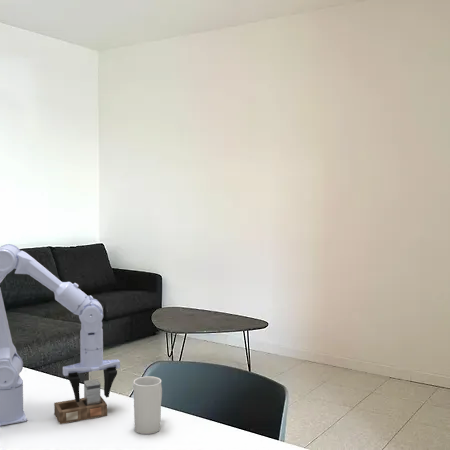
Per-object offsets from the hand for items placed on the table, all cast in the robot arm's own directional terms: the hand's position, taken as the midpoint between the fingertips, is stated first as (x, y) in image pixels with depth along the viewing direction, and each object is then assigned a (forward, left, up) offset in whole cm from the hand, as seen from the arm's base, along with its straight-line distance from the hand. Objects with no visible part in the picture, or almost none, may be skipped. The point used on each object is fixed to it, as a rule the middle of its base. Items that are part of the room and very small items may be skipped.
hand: (92, 398), depth 148 cm
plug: (0, 0, -4) cm, 4 cm away
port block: (-3, 0, -4) cm, 5 cm away
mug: (+11, -15, -4) cm, 19 cm away
